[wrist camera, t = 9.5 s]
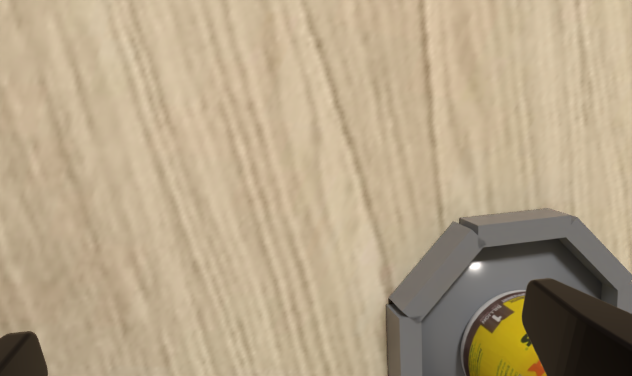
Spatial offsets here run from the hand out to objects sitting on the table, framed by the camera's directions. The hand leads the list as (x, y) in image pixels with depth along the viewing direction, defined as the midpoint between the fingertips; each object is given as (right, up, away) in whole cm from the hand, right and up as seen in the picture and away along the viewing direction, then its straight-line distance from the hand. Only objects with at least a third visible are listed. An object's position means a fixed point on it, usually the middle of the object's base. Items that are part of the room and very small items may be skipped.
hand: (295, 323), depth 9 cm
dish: (+10, -5, +15) cm, 19 cm away
